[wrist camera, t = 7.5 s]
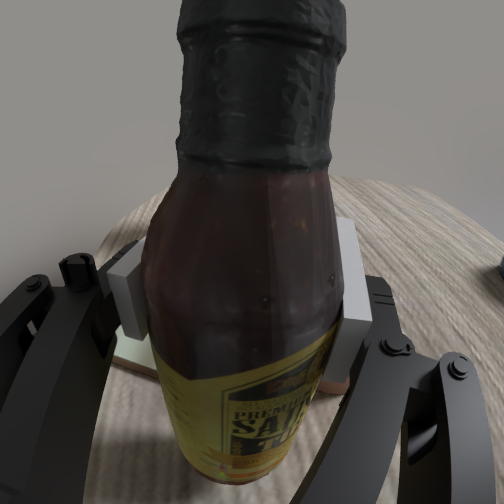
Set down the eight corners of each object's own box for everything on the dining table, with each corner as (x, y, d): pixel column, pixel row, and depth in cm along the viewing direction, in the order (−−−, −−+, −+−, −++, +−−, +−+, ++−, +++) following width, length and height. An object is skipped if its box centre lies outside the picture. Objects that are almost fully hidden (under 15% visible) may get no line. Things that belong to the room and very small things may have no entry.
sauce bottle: (244, 508, 11) (314, -112, 1) (160, 444, 14) (67, 10, 4) (308, 430, 16) (412, 34, 6) (229, 383, 19) (238, 30, 9)
